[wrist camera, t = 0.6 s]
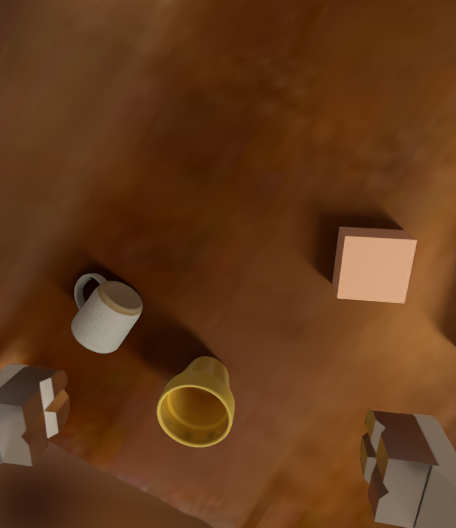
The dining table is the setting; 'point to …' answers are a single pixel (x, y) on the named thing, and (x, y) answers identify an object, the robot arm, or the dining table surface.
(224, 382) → the plant pot
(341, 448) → the dining table surface
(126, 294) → the ceramic mug
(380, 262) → the peach block
